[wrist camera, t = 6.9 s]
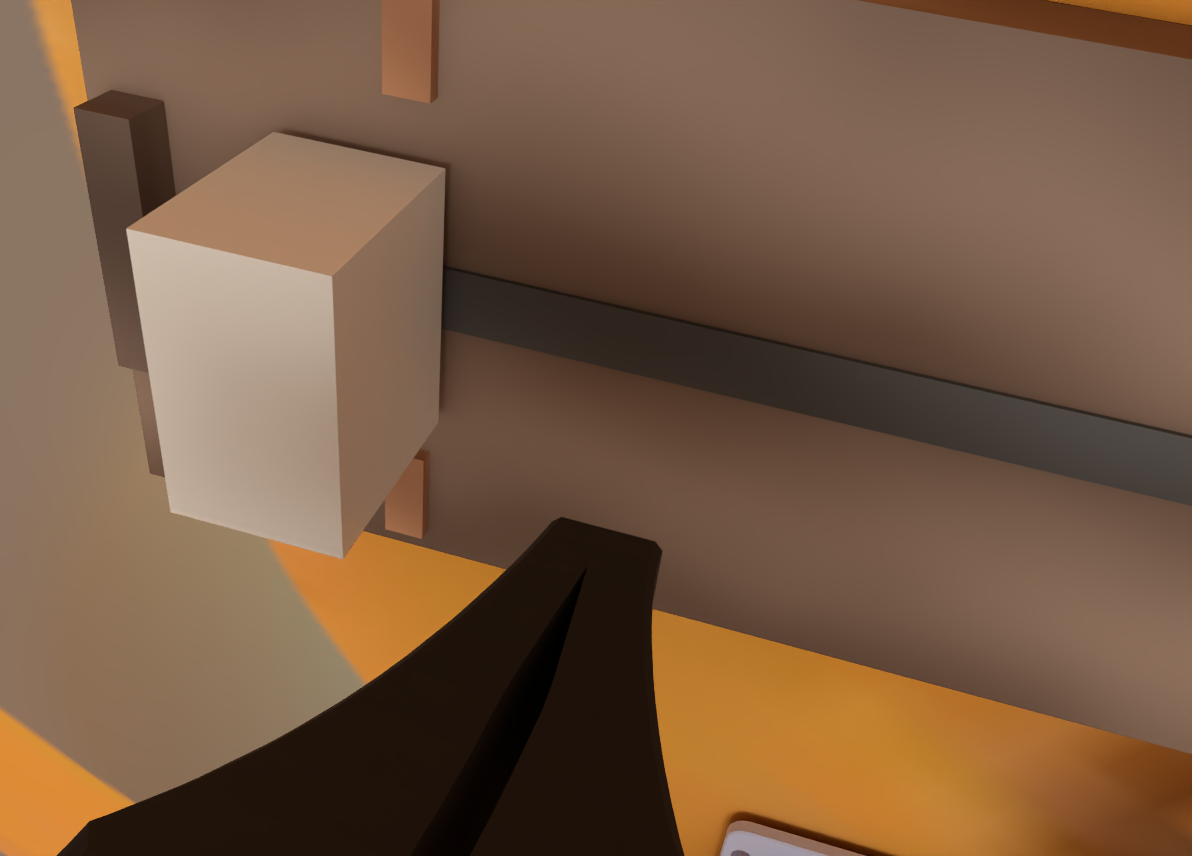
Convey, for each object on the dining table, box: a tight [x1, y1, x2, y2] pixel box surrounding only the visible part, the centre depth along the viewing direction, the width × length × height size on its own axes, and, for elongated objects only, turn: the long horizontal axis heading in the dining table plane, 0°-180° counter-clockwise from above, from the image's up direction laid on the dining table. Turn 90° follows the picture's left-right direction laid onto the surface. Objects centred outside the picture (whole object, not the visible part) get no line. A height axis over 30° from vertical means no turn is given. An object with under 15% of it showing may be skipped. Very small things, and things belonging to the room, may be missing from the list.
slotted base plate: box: [71, 0, 1192, 754], centre depth 19 cm, size 12×24×3 cm, turn 84°
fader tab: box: [126, 132, 445, 559], centre depth 18 cm, size 5×3×4 cm, turn 174°
